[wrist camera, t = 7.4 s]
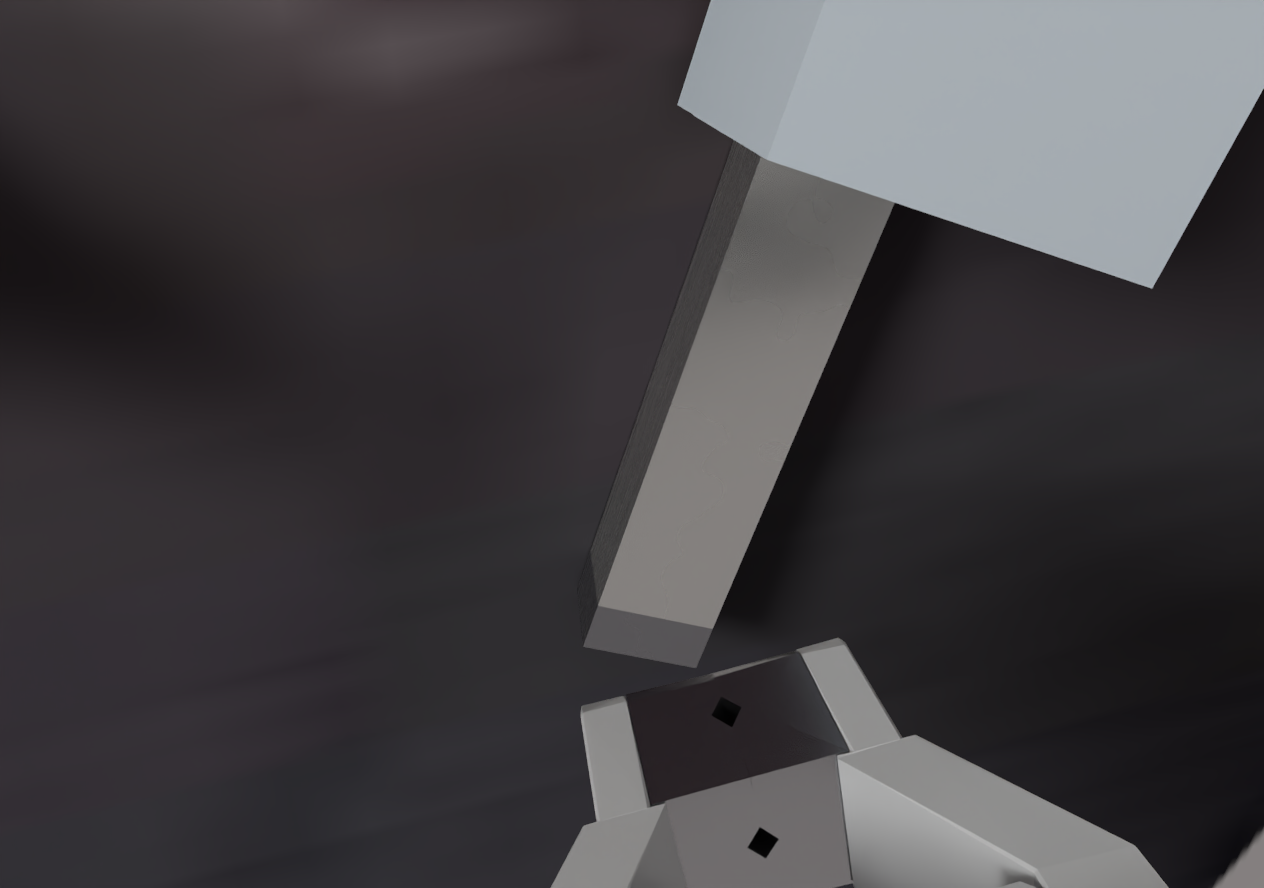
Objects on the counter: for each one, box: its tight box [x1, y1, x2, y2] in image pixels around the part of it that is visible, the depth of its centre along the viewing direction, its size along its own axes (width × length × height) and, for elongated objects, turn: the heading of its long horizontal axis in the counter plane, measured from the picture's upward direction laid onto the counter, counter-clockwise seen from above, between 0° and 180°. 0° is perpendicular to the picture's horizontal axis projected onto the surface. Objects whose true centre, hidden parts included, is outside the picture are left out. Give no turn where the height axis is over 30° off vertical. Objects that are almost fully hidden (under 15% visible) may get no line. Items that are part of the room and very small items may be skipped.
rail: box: [577, 140, 894, 668], centre depth 16 cm, size 18×2×2 cm, turn 162°
